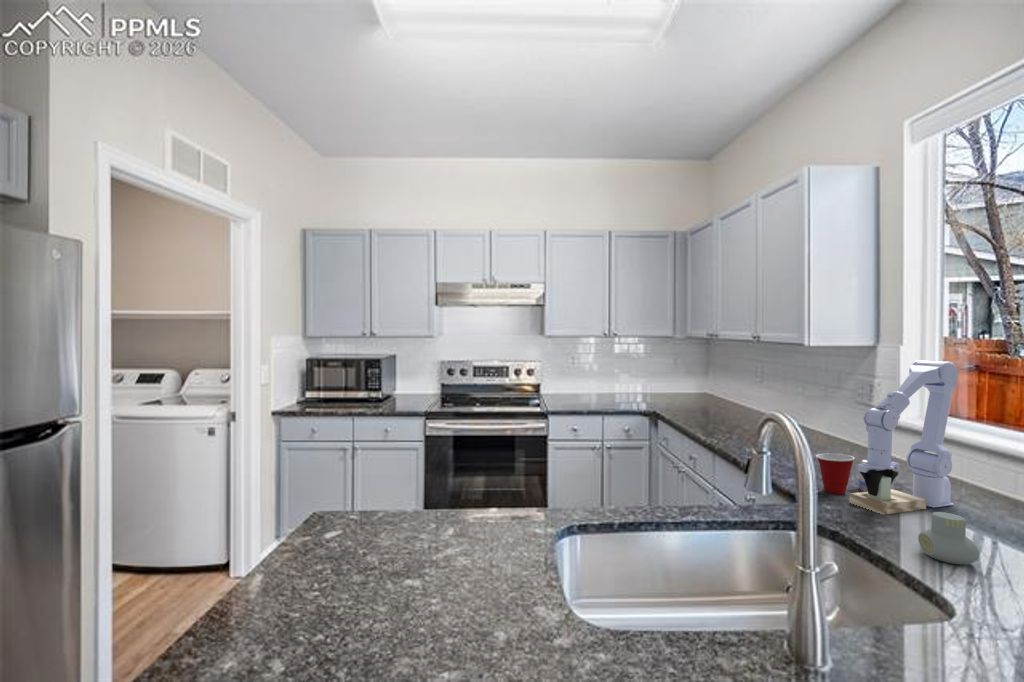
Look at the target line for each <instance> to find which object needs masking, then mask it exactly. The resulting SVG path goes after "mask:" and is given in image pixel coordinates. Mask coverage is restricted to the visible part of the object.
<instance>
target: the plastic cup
mask: <svg viewBox="0 0 1024 682" xmlns="http://www.w3.org/2000/svg"><path fill="white" fill-rule="evenodd" d="M815 457H816V459H817V461H818V464H819V469H820V470H819V471H820V474H821V480H822V485H823V486H822V487H823V489H824V492H826V491H827V492H826V493H829V494H834V495H845V494H846V492H847V487H848V484H849V480H850V476H851V471H852V467H853V463H854V461H855V459H856V458H855V457H854V456H852V455H850V454H849V455H848V454H843V453H842V454H840V453H829V452H827V453H817V454H815Z"/></svg>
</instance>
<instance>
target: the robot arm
mask: <svg viewBox="0 0 1024 682" xmlns="http://www.w3.org/2000/svg"><path fill="white" fill-rule="evenodd" d="M908 369H909V370H908V371H909V374H908V376H907V377H906V378H905V380H904V381H903V382H902V384H901V385H900V387H899V388H898V389H897V390H895V391H893V390H892V391H890V392H888V393H887V394H886V396H885V397H884V398H883V399H882V400H881V401H880V403H878V404H877V405H876V406H875V407H873V408H869V409H868V410H867V411H866V412H865V414H864V416H863V422H864V425H865V426H866V427H865V428H866V429H865V431H866V432H867V437H868V438H867V459H866V460H867V462H865V463H863V464H862V463H859V464H857V471H858V472H859V471H860V473H861V474H862V476H863V478H864V480H865V482H866V486H867V489H868V493H869V494H870V495H873V496H877V494H878V488H879V483H880V480H881V478H882V476H886V477H890V478H891V485H893V482H894V481H895V479H896V478H897V477H898V474H899V472H898V471H896V470H900V466H901V465H900V462H896V461H892V449H893V448H892V446H893V445H892V444H893V430H894V429H896V428H897V426H898V424H899V419H900V417H901V415H902V413H903V412H904V411H905V410H906V409H907V408H908V406H910V405H911V404H910V398H911V397H913V395H914V394H915V393H917V392H918V391H919V390H920V389H921V388H922V387H924V388H926V389H927V390H928V391H929V396H928V399H927V406H926V410H925V415H924V416H925V417H924V421H923V428H922V432H921V438H920V440H919V441H917V442H915V443H914V444H912V445H910V450H909V452H908V453H907V455H906V459H905V460H906V465H907V466H908V467H909V469H910V471H911V472H912V473H913V474H912V475H913V476H912V495H914V496H917V497H921V498H924V499H926V507H931V508H940V507H947V506H954V505H955V504H954V503H953V502H951V491H952V490H951V488H952V483H951V481H950V479H949V478H948V477H947V476H949V474H950V473H951V472H952V469H953V463H952V457H953V456H952V455H953V454H952V452H950V450H948V449H947V447H945V446H944V439H945V434H946V429H947V424H948V420H949V419H948V418H949V413H950V408H951V403H952V397H953V392H954V390H956V386H957V381H958V377H959V370H958V369H957V366H956V365H955V363H954V362H952V361H935V360H934V361H933V360H921V359H917V360H915V361H914V362H912V364H911V366H909V368H908Z"/></svg>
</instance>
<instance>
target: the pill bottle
mask: <svg viewBox="0 0 1024 682" xmlns="http://www.w3.org/2000/svg"><path fill="white" fill-rule="evenodd" d="M865 462H867V459H862V460H861V464H863V463H865ZM859 488H860V489H862V490H865V491H868V489H867V486H866V482H865V480H864V478H863V476H862V474H861V473H860V471H858V489H859ZM860 489H859V490H860ZM862 490H861V491H862ZM865 491H864V492H865Z"/></svg>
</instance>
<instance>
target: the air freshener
mask: <svg viewBox="0 0 1024 682" xmlns="http://www.w3.org/2000/svg"><path fill="white" fill-rule="evenodd" d="M930 524H931V526H930V527H931V528H930V529H925V530H923V531H921V532H920V533H919V534H918V537H917V538H918V539H917V540H918V544H919V546H920V548H921V550H922V551H923V552H924V553H925V554H926V555H928V556H929V557H930V558H931V559H933V558H934V559H933V560H936V561H939V562H942V561H943V562H944V563H946V564H952V565H959V564H960V565H961V566H962V565H969V564H973V563H975V562H977V561H978V560H979V559H980V550H979V548H978V547H977V544H976V543H975V542H974V541H973V540H972V539H970V538H969V537H967V536H966V535H967V534H966V530H967V529H966V528H967V527H966V526H967V520H966V518H964V517H962V516H960V515H958V514H953V513H950V512H946V511H945V512H944V511H934V512H933V513H931V523H930ZM943 562H942V563H943Z"/></svg>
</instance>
